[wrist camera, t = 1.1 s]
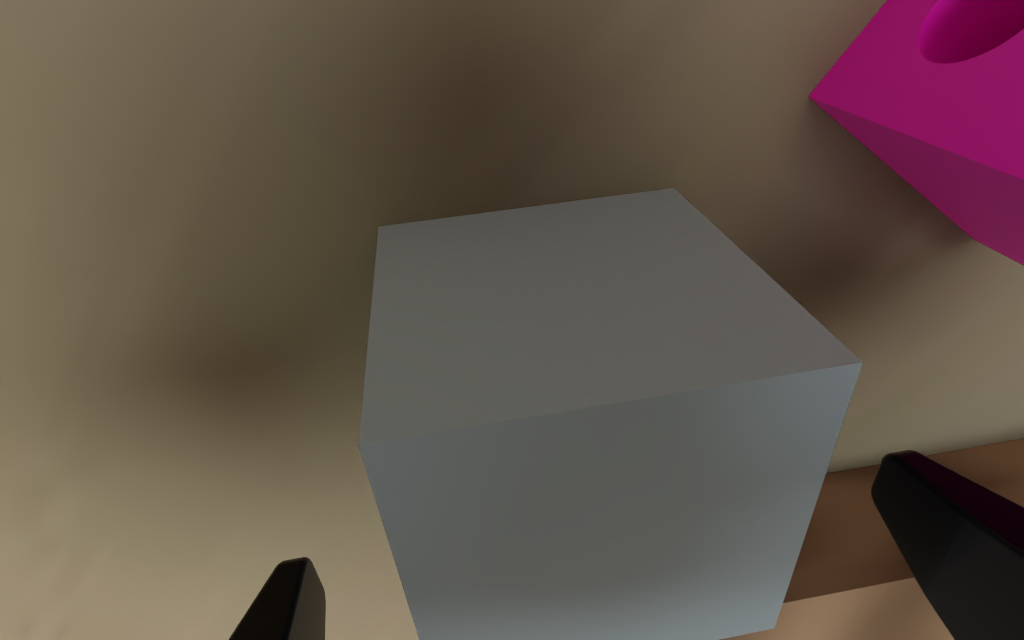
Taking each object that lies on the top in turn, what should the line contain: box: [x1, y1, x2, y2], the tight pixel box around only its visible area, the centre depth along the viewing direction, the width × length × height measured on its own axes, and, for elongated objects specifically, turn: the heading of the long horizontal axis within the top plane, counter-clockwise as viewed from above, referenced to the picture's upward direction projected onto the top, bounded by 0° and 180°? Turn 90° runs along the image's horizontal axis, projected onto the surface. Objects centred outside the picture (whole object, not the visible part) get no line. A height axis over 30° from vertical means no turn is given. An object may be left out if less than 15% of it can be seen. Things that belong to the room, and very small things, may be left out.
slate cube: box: [358, 188, 863, 640], centre depth 11 cm, size 6×6×6 cm
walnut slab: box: [720, 438, 1024, 640], centre depth 21 cm, size 14×14×4 cm
